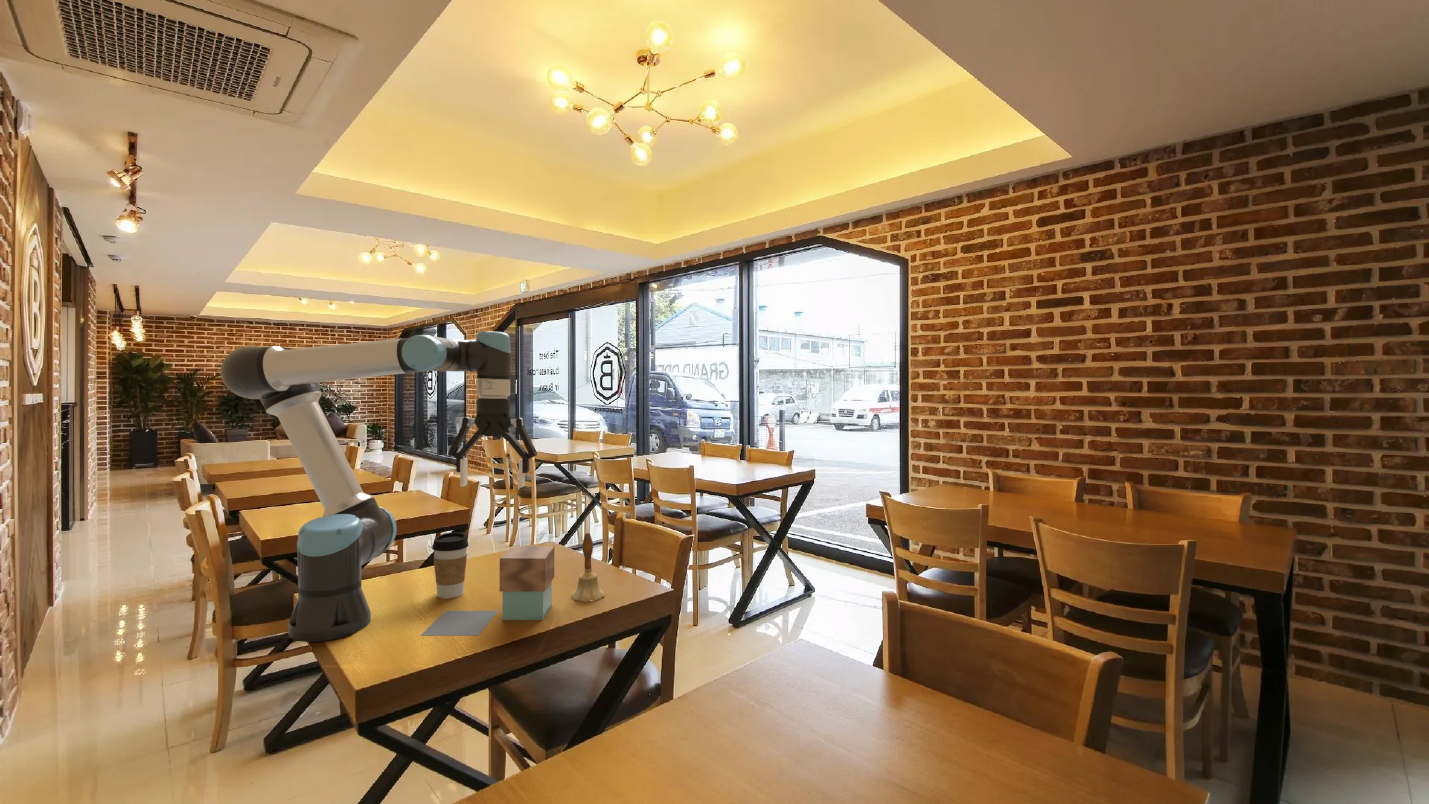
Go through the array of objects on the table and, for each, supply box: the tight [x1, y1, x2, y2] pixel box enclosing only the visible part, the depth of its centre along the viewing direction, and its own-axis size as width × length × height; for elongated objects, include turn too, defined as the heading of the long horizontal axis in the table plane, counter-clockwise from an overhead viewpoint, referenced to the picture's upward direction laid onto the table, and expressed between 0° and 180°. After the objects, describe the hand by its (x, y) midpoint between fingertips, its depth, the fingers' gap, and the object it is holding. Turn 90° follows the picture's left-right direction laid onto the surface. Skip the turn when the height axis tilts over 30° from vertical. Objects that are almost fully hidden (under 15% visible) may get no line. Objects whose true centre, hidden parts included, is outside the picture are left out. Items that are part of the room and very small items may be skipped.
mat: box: [419, 610, 499, 637], centre depth 138 cm, size 12×14×1 cm
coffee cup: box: [431, 531, 470, 600], centre depth 156 cm, size 8×8×15 cm
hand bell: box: [570, 532, 605, 602], centre depth 157 cm, size 8×8×16 cm
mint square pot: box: [501, 581, 553, 621], centre depth 145 cm, size 9×9×7 cm
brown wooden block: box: [499, 545, 556, 593], centre depth 145 cm, size 10×10×8 cm
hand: (492, 486), depth 149 cm, fingers open, 13 cm apart
